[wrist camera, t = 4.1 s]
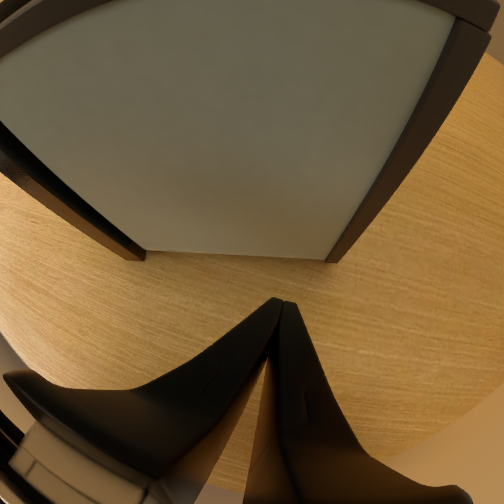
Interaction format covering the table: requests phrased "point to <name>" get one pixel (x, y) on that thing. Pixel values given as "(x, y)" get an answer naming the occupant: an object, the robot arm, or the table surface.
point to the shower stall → (57, 184)
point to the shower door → (237, 111)
